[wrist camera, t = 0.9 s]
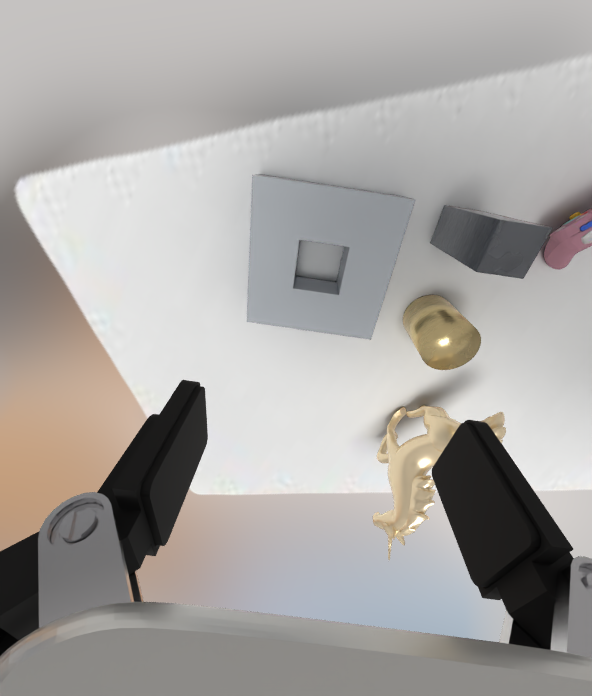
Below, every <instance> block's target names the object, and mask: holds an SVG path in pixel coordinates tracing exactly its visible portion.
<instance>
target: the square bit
mask: <svg viewBox="0 0 592 696" xmlns="http://www.w3.org/2000/svg"><path fill="white" fill-rule="evenodd" d="M551 230H552V227H548V226H543V225H539V224H535V223H531V222H526V221H522V220H518V219H514V218H509V217H505V216H501V215H497V214H492V213H488V212H484V211H479V210H473V209H466V208H460V207H453V206H447V205H444V207H443V210H442V213H441V216H440V218H439V221H438V224H437V226H436V229H435V232H434V234H433V237H432V240H431V242H430V243H431V244H432V245H434V246H436V247H437V248H439V249H441V250H442V251H444V252H445V253H447V254H449V255H450V256H452V257H453V258H455V259H457V260H458V261H460V262H461V263H463V264H465V265H466V266H468V267H470V268H471V269H473V270H474V271H476V272H481V273H488V274H495V275H501V276H508V277H515V278H521V279H523V278H524V277H525V275H526V273H527V271H528V270H529V268H530V266H531V265H532V263H533V261H534V259H535V258H536V256H537V254H538V252H539V251H540V249H541V247H542V246H543V244H544V242H545V240H546V239H547V237H548V235H549V234H550V232H551Z"/></svg>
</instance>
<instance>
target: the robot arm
mask: <svg viewBox="0 0 592 696" xmlns="http://www.w3.org/2000/svg"><path fill="white" fill-rule="evenodd" d="M207 438H208V434H207V417H206V400H205V388H204V387H200V383H199V382H194V381H187V380H182V381H181V382H180V384H179V385H178V387H177V388H176V390H175V391H174V393H173V394H172V396H171V398H170V399H169V401H168V402H167V404H166V405H165V407H164V408H163V410H162V412H161V413H160V415H158V414H152V415H151V416H150V417H149V418H148V419H147V420H146V422H145V423H144V425H143V426H142V428H141V429H140V430H139V432H138V433H137V435H136V437H135V438H134V439H133V441H132V442H131V444H130V445H129V447H128V448H127V450H126V451H125V452H124V454H123V455H122V457H121V458H120V460H119V461H118V463H117V464H116V466H115V467H114V469H113V470H112V472H111V473H110V474H109V476H108V477H107V479H106V480H105V482H104V483H103V485H102V486H101V488H100V489H99V491H98V492H97V493H96V492H90V493H83V494H80V495H77V496H74V497H72V498H70V499H68V500H66V501H65V502H63V503H62V504H60V505H59V506H58V507H57V508H56V509H54V510H53V511H52V512H51V514H50V515H49V516H48V517H47V518H46V519H45V521H44V523H43V525H42V527H41V528H40V531H39V532H37V533H35V534H33V535H31V536H30V537H27V538H26V539H24V540H22V541H20V542H18V543H16V544H14V545H12V546H10V547H8V548H6V549H4V550H3V551H0V696H592V559H590V558H587V557H579V556H578V557H576V558H573V557H572V555H571V554H570V551H572V550H573V548H572V546H571V545H570V543H569V542H568V540H567V539H566V537H565V536H564V534H563V533H562V532H561V530H560V529H559V527H558V526H557V524H556V523H555V521H554V520H553V518H552V517H551V515H550V514H549V512H548V511H547V510H546V508H545V507H544V505H543V504H542V502H541V501H540V499H539V498H538V496H537V495H536V493H535V492H534V491H533V489H532V488H531V486H530V485H529V483H528V482H527V480H526V479H525V477H524V476H523V474H522V473H521V471H520V470H519V469H518V467H517V466H516V464H515V463H514V461H513V460H512V458H511V457H510V455H509V454H508V452H507V451H506V450H505V448H504V447H503V445H502V444H501V442H500V441H499V439H498V438H497V436H496V435H495V433H494V432H493V430H492V429H491V428H490V426H489V425H488V424H487V423H485V422H480V421H473V420H467V421H465V422H464V423H462V424H460V425H459V427H458V429H457V430H456V432H455V433H454V435H453V436H452V438H451V439H450V441H449V443H448V444H447V446H446V447H445V449H444V450H443V452H442V454H441V455H440V457H439V458H438V460H437V461H436V463H435V464H434V466H433V468H432V477H433V480H434V483H435V485H436V488H437V490H438V493H439V496H440V498H441V501H442V504H443V506H444V509H445V511H446V514H447V517H448V519H449V522H450V525H451V527H452V530H453V532H454V535H455V537H456V540H457V543H458V545H459V548H460V551H461V553H462V556H463V559H464V561H465V564H466V566H467V569H468V571H469V574H470V577H471V579H472V581H473V582H474V584H475V585H476V586H478V588H479V591H480V593H481V596H482V598H487V599H495V600H500V599H502V600H503V603H504V605H505V607H506V612H505V617H504V622H503V626H502V631H501V636H500V641H499V642H491V641H483V640H475V639H468V638H460V637H452V636H445V635H437V634H430V633H422V632H413V631H406V630H398V629H390V628H382V627H375V626H366V625H358V624H350V623H342V622H334V621H326V620H318V619H310V618H302V617H293V616H285V615H276V614H268V613H259V612H252V611H243V610H235V609H226V608H216V607H205V606H195V605H186V604H176V603H156V602H144V601H143V597H142V593H141V588H140V584H139V580H138V575H137V571H136V570H138V569H139V568H140V567H141V565H142V562H143V560H144V558H145V556H146V555H151V556H156V554H157V551H158V549H159V547H160V546H164V545H166V543H167V541H168V539H169V537H170V534H171V532H172V529H173V527H174V524H175V522H176V519H177V516H178V514H179V512H180V509H181V507H182V504H183V502H184V499H185V497H186V494H187V492H188V489H189V487H190V484H191V482H192V479H193V477H194V474H195V472H196V469H197V467H198V464H199V462H200V459H201V457H202V454H203V452H204V450H205V447H206V444H207Z"/></svg>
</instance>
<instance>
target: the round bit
mask: <svg viewBox="0 0 592 696" xmlns="http://www.w3.org/2000/svg"><path fill="white" fill-rule="evenodd" d="M403 325H404V327H405V329H406V331H407V333H408V334H409V336H410V338H411V340H412V341H413V343H414V345H415V347H416V348H417V350H418V352H419V354H420V355H421V357H422V359H423V361H424V362H425V363H426V364H427V365H428V366H430V367H432V368H434V369H438V370H450V369H454V368H457V367H460V366H462V365H464V364H466V363H467V362H468V361H470V360H471V359H472V358H473V357H474V356H475V355H476V353H477V352H478V350H479V348H480V344H481V337H480V334H479V332H478V330H477V329H476V328H475V327H474V326H473V325H472V324H471V323H470V322H469V321H468V320H467V319H466V318H465V317H464V316H463V315H462V314H461V313H459V312H458V311H457V310H456V309H455V308H454V307H453V306H452V305H451V304H450V303H449V302H448V301H447V300H446V299H445V298H443V297H441V296H438V295H426V296H422V297H420V298H418V299H416V300H415V301H413V302H412V303H411V304H410V305H409V306H408V307H407V309H406V310H405V312H404V315H403Z"/></svg>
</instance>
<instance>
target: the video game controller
mask: <svg viewBox="0 0 592 696" xmlns="http://www.w3.org/2000/svg"><path fill="white" fill-rule="evenodd" d="M569 218H570V220H569V221H568V222H566V223H564V224H563V225H562V226H561V227H560V228H559V229H557V230H556V231H554V232H553V233H551V234H550V239H549V241H548V243H547V245H546V247H545V251H544V258H545V262H546V263H547V265H549V266H550V267H552V268H554V269H562V268H564V267H566V266H567V265H568V264H569V262H570V261H571V259H572V258H573V256H574V255H575V254H576V253H578V252H580V251H582V250H584V249H586V248H588V247H590V246H592V209H589V210H587V211H585V212H583V213H581V214H580V212H576V213H574V214H573V215H571V216H570V217H569Z"/></svg>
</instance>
